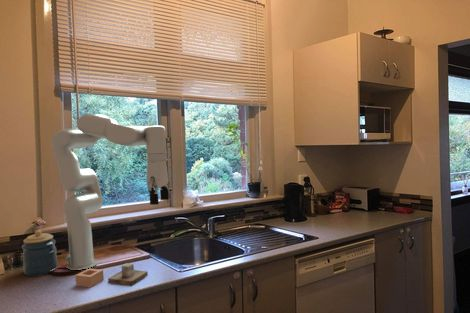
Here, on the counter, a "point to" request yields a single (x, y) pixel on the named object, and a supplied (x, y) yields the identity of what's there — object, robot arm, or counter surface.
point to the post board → (127, 279)
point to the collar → (89, 277)
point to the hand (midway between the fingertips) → (159, 201)
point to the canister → (39, 254)
